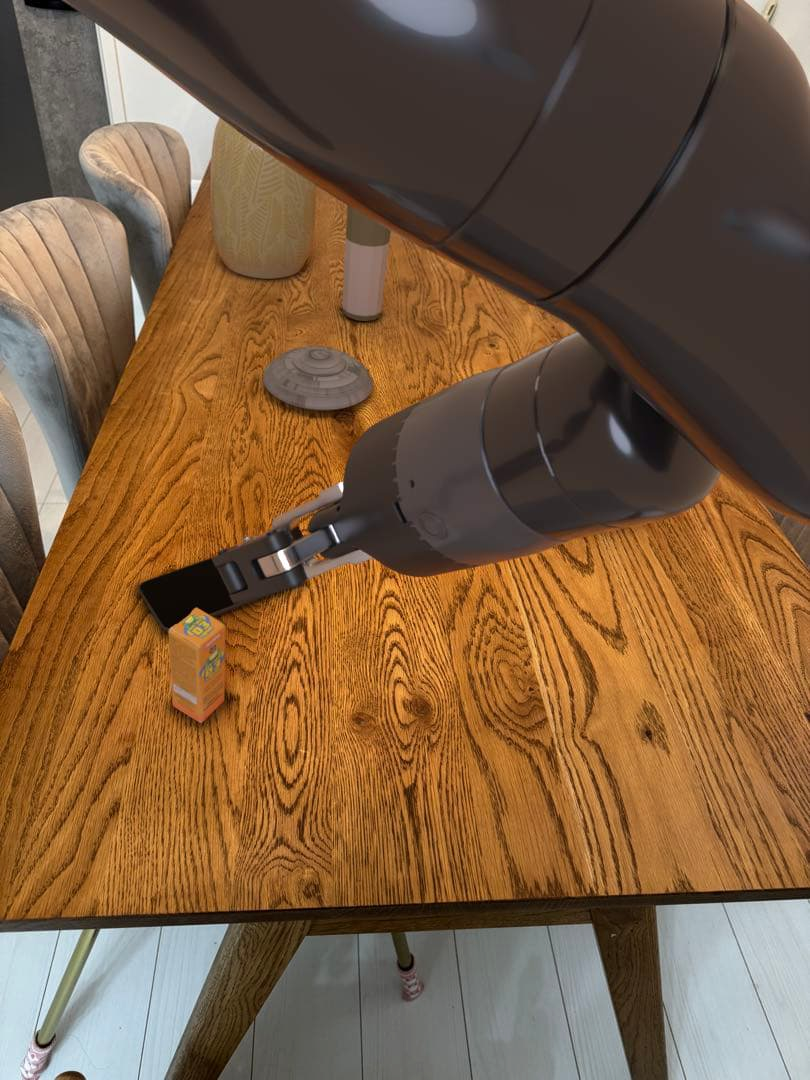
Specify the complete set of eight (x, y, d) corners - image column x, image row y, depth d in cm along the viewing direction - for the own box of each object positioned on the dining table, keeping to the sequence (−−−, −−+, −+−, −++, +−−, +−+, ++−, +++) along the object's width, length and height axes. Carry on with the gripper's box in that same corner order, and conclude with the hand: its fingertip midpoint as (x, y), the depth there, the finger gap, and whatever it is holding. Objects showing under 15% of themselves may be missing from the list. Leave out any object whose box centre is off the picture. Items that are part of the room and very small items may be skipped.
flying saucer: (391, 384, 115) (395, 349, 112) (336, 431, 104) (339, 394, 101) (301, 351, 119) (302, 316, 116) (240, 393, 109) (239, 356, 105)
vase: (191, 257, 140) (181, 82, 122) (266, 236, 150) (267, 72, 133) (260, 293, 132) (260, 112, 115) (333, 268, 143) (344, 99, 125)
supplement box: (202, 727, 69) (196, 648, 62) (172, 707, 70) (163, 627, 63) (229, 701, 71) (226, 622, 64) (199, 682, 72) (193, 603, 66)
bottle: (387, 310, 133) (409, 109, 113) (376, 328, 128) (396, 120, 108) (346, 301, 134) (361, 100, 114) (333, 319, 128) (346, 111, 109)
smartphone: (166, 638, 75) (307, 583, 83) (165, 632, 75) (307, 577, 82) (135, 589, 80) (271, 540, 87) (134, 582, 79) (271, 534, 86)
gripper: (540, 348, 38) (354, 439, 51) (302, 450, 29) (152, 527, 42) (603, 495, 39) (404, 547, 52) (389, 635, 30) (216, 656, 43)
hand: (291, 538), depth 47 cm, fingers open, 8 cm apart
